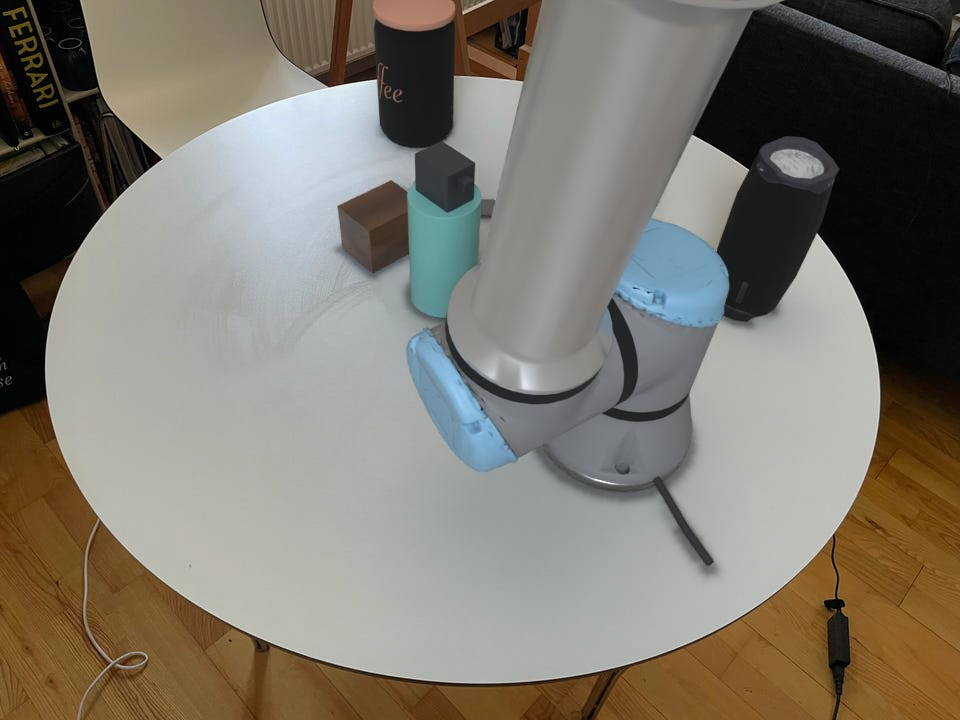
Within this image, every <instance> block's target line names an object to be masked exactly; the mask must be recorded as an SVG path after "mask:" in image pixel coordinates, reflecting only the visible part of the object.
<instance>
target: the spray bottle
mask: <svg viewBox="0 0 960 720" xmlns="http://www.w3.org/2000/svg"><path fill="white" fill-rule="evenodd" d="M414 173H415V174H414V178H415V179H414V180H415V181H414V182H413V183H412V184H411V185H410V186H409V188H408V190H407V192H408V193H407V205H408V235H409V254H408V261H409V294H410V300H411V303H412V304H413V306H414V307H415V308H416V309H417V310H418V311H420V312H421V313H422V314H424V315H427V316H430V317H434V318H441V319H443V318H444V319H446V314H447V309H448V304H449V300H450V297H451V293H452V291H453V290H454V288H455V286H456V284H457V283H458V282H459V280H460V279H461V278H462V277H463V275H464V274H465V273H466V272H467V271H469V270H470V269H471V268H473V267H474V266H475V265H477V264H479V255H480V253H479V251H480V234H481V217H482V215H481V200H482V199H483V197H482V192H481V189H480V187H479V186H478V185H477V184H476V183H475V180H476V179H475V178H476V162H475V161H474V160H472V159H471V158H469V157H467V156H465V154H463V153H462V152H460V151H458V150H457V149H455V148H453V147H452V146H451V145H449V144H448V143H446V142H444V140H443V141H440V142H438V143H436V144H434V145H432V146H430V147H425V148H422V149H421V150H419V151H417V152H414Z"/></svg>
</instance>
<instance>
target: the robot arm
mask: <svg viewBox="0 0 960 720" xmlns="http://www.w3.org/2000/svg"><path fill="white" fill-rule="evenodd" d="M784 1H785V0H542V1H541V5H540V9H539V13H538V18H537V23H536V26H535V30H534V35H533V38H532V44H531V47H530V52H529V57H528V60H527V65H526V69H525V73H524V78H523V82H522V86H521V91H520V95H519V100H518V103H517V107H516V112H515V116H514V120H513V125H512V129H511V133H510V137H509V141H508V145H507V149H506V150H507V151H506V154H505V158H504V162H503V167H502V171H501V174H500V175H501V176H500V179H499V184H498V189H497V192H496V197H495V200H496V201H495V205H494V209H493V213H492V217H491V218H490V223H489V225H488V226H489V227H488V231H487V235H486V239H485V243H484V248H483V251H482V255H481V260H480V262H478V264H477V265H475V266H474V267H473V268H471V269H470V270H469V271H467V272H466V273H465V274H464V275H463V277H462V278H461V279H460V280H459V282H458V283H457V284H456V286H455V288H454V290H453V291H452V293H451V297H450V300H449V304H448V309H447V314H446V318H444V319H445V320H444V321H443V322H442V323H440V324H438V325H436V326H434V327H429V326H425V327H424V328H422V330H421V331H420V332H418V333H416V334H415V335H413V336H412V337H411V338H410V339H409V340H408V342H407V344H406V349H405V350H406V351H405V355H406V361H407V365H408V369H409V372H410V376H411V379H412V382H413V384H414V386H415V389H416V391H417V393H418V396H419V398H420V400H421V402H422V405H423V407H424V408H425V411H426V412H427V414H428V416H429V418H430V419H431V421H432V423H433V424H434V427H435V428H436V430H437V431H438V433H439V434H440V436H441V437H442V439H443V441H444V442H445V443H446V445H447V446H448V448H449V449H450V450H451V451H452V453H453V454H454V455H455V456H456V457H457V458H458V460H459V461H461V462H462V463H463V464H464V465H465V466H466V467H468V468H469V469H471V470H473V471H475V472H480V473H488V472H491V471H494V470H497V469H499V468H501V467H503V466H506V465H508V464H515V463H517V462H518V461H519V459H520V458H521V457H523V456H525V455H527V454H529V453H531V452H532V451H534V450H536V449H538V448H540V447H542V448H543V450H544V451H545V454H546V455H547V456H548V457H549V459H550V460H551V461H552V462H553V463H554V465H556V466H557V467H558V468H559V470H561V471H562V472H564V473H565V474H566V475H567V476H570V477H571V478H573V479H574V480H576V481H578V482H580V483H581V484H584V485H587V486H588V487H589V486H590V487H592V488H594V489H599V490H603V491H609V492H616V493H617V492H618V493H629V492H630V493H631V492H638V491H643V490H648V489H650V488H653V487H656V489H657V490H658V492H659V494H660V495H661V497H662V499H663V500H664V502H665V504H666V506H667V508H668V509H669V511H670V512H671V514H672V517H673V518H674V520H675V521H676V523H677V525H678V526H679V528H680V529H681V532H682V533H683V535H684V536H685V537H686V539H687V540H688V541H689V543H690V545H691V546H692V547H693V549H694V550H695V552H696V553H697V554H698V556H699V557H700V558H701V560H702V562H703V563H704V564H705V566H707V567H708V566H711V565H712V564H714V562H715V561H714V559H713V557H712V556H711V555H710V553H709V552H708V551H707V550H706V548H705V547H704V545H703V544H702V543H701V541H700V540H699V538H698V537H697V536H696V533H694V531H693V530H692V528H691V527H690V525H689V523H688V522H687V520H686V519H685V517H684V516H683V514H682V512H681V510H680V508H679V506H678V505H677V503H676V502H675V500H674V497H672V495H671V493H670V491H669V490H668V488H667V486H666V485H665V483H664V482H665V481H666V480H668V479H669V478H671V477H672V476H673V475H674V474H675V473H676V472H677V471H678V470H679V468H680V467H681V465H682V464H683V463H684V460H685V458H686V457H687V453H688V451H689V448H690V445H691V442H692V436H693V419H692V409H691V397H690V393H691V390H692V388H693V386H694V383H695V382H696V378H697V377H698V374H699V371H700V368H701V366H702V364H703V362H704V359H705V357H706V353H707V352H708V349H709V346H710V344H711V342H712V339H713V338H714V335H715V332H716V331H717V330H716V329H717V327H718V324H719V323H720V322H721V321H722V319H723V317H724V315H723V314H724V305H725V301H726V298H727V295H728V291H729V279H728V276H729V275H728V271H727V268H726V266H725V264H724V262H723V260H722V259H721V257H720V256H719V255H718V253H717V252H716V251H717V250H715V249H714V248H713V247H712V246H711V245H710V244H709V243H708V242H707V241H705V239H703V238H701V237H699V236H698V235H697V234H695V233H693V232H692V231H690V230H688V229H686V228H684V227H682V226H679V225H677V224H674V223H671V222H667V221H663V220H659V219H656V218H652V217H653V215H654V213H655V211H656V209H657V207H658V205H659V203H660V201H661V198H662V197H663V195H664V192H665V191H666V189H667V187H668V185H669V182H670V181H671V178H672V176H673V174H674V173H675V170H676V168H677V166H678V165H679V162H680V160H681V158H682V156H683V154H684V152H685V150H686V148H687V146H688V144H689V142H690V140H691V138H692V136H693V134H694V131H695V130H696V128H697V126H698V123H699V122H700V120H701V118H702V116H703V113H704V111H705V110H706V107H707V106H708V104H709V101H710V100H711V97H712V95H713V94H714V91H715V90H716V87H717V85H718V83H719V81H720V79H721V77H722V75H723V73H724V71H725V69H726V67H727V65H728V63H729V61H730V58H731V56H732V55H733V52H734V51H735V49H736V46H737V45H738V42H739V40H740V39H741V36H742V34H743V32H744V30H745V28H746V26H747V24H748V22H749V21H750V18H751V16H752V14H753V12H754V11H758V10H760V9H764V8H767V7H769V6H773V5H776V4H779V3H781V2H784Z"/></svg>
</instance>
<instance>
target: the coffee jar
mask: <svg viewBox="0 0 960 720" xmlns="http://www.w3.org/2000/svg"><path fill="white" fill-rule="evenodd" d="M372 12H373V15H374V17H375V20H374V25H373V36H374V37H373V39H374V53H375V54H374V55H375V56H374V57H375V69H376V70H375V71H376V88H377V103H378V119H379V120H378V121H379V127H380V128H381V130H382V132H383V134H384V135H385V136H386V138H387V139H388V140H390V141H391V142H392V143H393V144H396V145H398V146H400V147H404V148H405V147H406V148H409V149H425V148H428V147H430V146H432V145H434V144H436V143H438V142H440V141H443V142H444V141H445V140H446V139H447V137H448V136H449V135H450V133H451V131H452V130H453V128H454V104H455V103H454V102H455V58H456V57H455V53H456V51H455V50H456V49H455V48H456V45H455V44H456V24H455V23H456V22H455V21H454V19H455V16H456V4H455V2H454V0H374V1H373V4H372Z"/></svg>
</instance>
